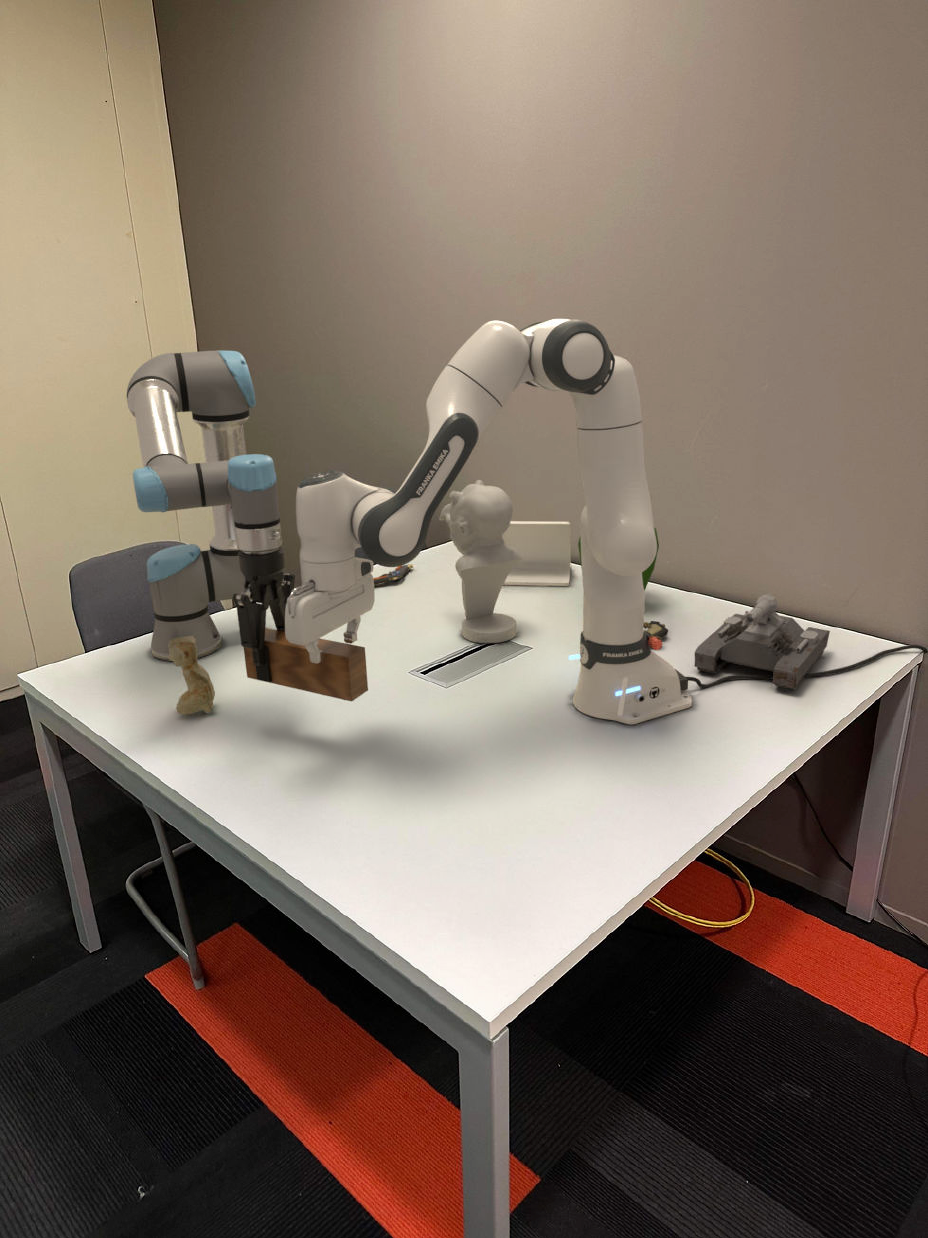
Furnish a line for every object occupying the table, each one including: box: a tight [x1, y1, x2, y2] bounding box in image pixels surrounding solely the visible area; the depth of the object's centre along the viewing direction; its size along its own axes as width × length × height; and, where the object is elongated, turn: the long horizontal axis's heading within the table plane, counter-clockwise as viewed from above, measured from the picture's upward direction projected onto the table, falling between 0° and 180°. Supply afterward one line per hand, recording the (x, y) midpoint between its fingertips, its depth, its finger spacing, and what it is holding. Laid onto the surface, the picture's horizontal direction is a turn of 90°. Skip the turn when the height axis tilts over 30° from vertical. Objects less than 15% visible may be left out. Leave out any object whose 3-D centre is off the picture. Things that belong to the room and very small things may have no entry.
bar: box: [242, 627, 369, 702], centre depth 148 cm, size 23×5×8 cm, turn 62°
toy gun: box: [373, 563, 414, 586], centre depth 239 cm, size 3×19×10 cm
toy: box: [694, 594, 831, 691], centre depth 176 cm, size 25×20×15 cm
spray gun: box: [643, 620, 669, 643], centre depth 193 cm, size 4×17×15 cm
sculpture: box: [168, 637, 216, 716], centre depth 162 cm, size 6×7×15 cm
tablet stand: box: [502, 520, 572, 587], centre depth 236 cm, size 18×25×17 cm
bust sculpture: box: [438, 479, 523, 644], centre depth 196 cm, size 16×24×35 cm, turn 28°
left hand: (275, 674), depth 152 cm, fingers closed on bar, 5 cm apart
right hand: (334, 651), depth 143 cm, fingers open, 8 cm apart
